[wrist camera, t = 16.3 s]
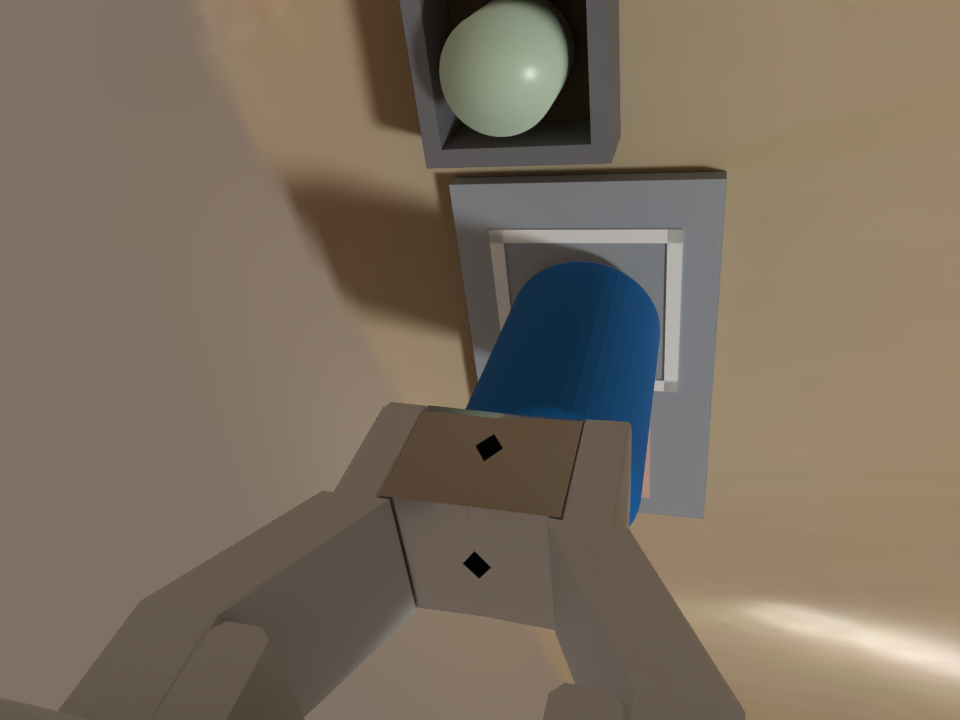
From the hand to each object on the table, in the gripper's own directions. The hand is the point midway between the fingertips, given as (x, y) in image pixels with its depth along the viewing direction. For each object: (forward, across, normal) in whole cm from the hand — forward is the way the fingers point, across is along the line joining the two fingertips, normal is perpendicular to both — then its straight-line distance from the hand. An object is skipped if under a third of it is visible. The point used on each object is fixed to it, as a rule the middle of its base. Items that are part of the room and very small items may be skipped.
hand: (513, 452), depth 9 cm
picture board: (+22, +2, +14) cm, 26 cm away
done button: (+21, +5, 0) cm, 22 cm away
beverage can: (+21, +2, +11) cm, 24 cm away
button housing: (+22, +5, 0) cm, 22 cm away
